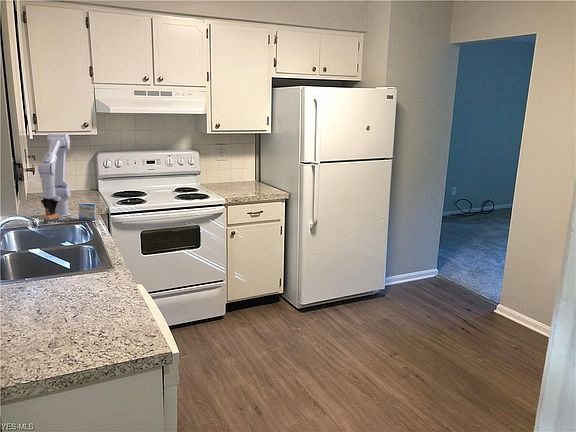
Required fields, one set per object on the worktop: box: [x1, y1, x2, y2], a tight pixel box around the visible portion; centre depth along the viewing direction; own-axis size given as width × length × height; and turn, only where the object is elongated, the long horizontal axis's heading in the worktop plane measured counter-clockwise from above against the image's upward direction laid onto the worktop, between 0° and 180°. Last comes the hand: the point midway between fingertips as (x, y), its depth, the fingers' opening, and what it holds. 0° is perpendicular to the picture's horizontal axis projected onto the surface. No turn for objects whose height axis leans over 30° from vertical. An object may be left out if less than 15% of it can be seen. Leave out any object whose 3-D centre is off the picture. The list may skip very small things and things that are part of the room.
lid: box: [40, 207, 62, 220], centre depth 231 cm, size 6×6×5 cm
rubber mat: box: [59, 216, 80, 223], centre depth 237 cm, size 8×8×1 cm
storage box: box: [43, 218, 60, 224], centre depth 232 cm, size 5×5×3 cm
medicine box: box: [78, 202, 97, 221], centre depth 238 cm, size 8×4×9 cm, turn 105°
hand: (50, 213), depth 231 cm, fingers closed on lid
